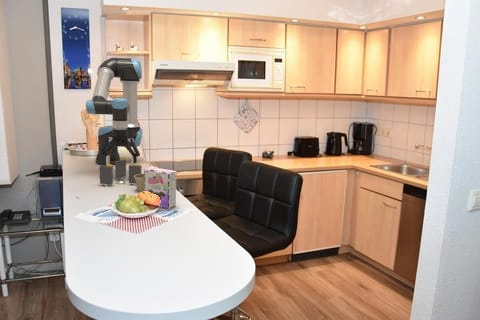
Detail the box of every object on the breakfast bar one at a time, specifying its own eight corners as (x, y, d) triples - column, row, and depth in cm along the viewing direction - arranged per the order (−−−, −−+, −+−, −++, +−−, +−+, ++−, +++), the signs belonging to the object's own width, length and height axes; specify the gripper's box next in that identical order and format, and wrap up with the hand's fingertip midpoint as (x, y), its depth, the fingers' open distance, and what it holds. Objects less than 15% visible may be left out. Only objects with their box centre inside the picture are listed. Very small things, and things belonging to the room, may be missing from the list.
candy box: (143, 203, 185) (143, 168, 182) (152, 200, 190) (152, 166, 187) (168, 209, 179) (168, 173, 175) (176, 206, 184) (176, 170, 180)
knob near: (115, 179, 216) (114, 159, 214) (123, 177, 222) (122, 157, 219) (118, 180, 215) (118, 160, 213) (126, 178, 221) (126, 158, 218)
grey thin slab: (130, 183, 211) (130, 163, 208) (141, 184, 210) (141, 163, 208) (128, 184, 208) (128, 164, 206) (140, 185, 208) (140, 164, 206)
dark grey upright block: (101, 184, 207) (101, 163, 204) (113, 185, 206) (113, 164, 204) (99, 185, 204) (99, 164, 202) (111, 186, 204) (111, 165, 202)
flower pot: (149, 196, 195) (149, 179, 194) (130, 194, 197) (130, 177, 195) (156, 191, 204) (157, 174, 203) (139, 189, 206) (139, 172, 204)
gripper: (93, 128, 210) (94, 168, 214) (141, 130, 208) (141, 171, 213) (99, 126, 217) (100, 165, 222) (145, 128, 216) (146, 168, 220)
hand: (120, 168), depth 217 cm, fingers open, 13 cm apart
